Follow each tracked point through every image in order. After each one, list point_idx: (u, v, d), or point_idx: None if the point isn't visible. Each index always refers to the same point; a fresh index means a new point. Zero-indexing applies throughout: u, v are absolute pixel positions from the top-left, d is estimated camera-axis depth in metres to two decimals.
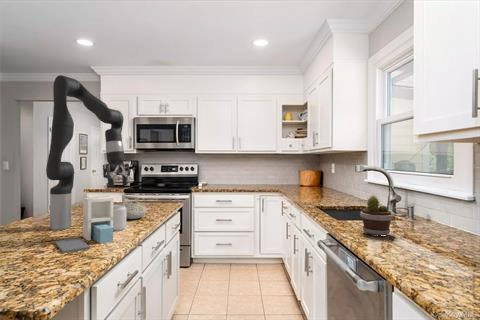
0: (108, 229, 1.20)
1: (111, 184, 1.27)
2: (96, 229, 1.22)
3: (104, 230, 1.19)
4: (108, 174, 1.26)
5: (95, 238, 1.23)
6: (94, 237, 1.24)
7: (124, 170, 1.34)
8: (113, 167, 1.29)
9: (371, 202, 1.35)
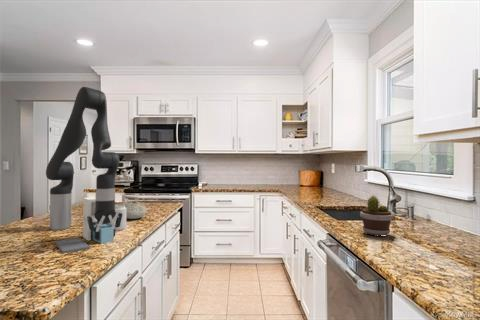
0: (109, 229, 1.20)
1: (96, 237, 1.19)
2: None
3: (105, 230, 1.19)
4: (92, 228, 1.17)
5: (94, 238, 1.22)
6: (93, 237, 1.24)
7: (112, 221, 1.22)
8: (98, 219, 1.19)
9: (371, 202, 1.35)
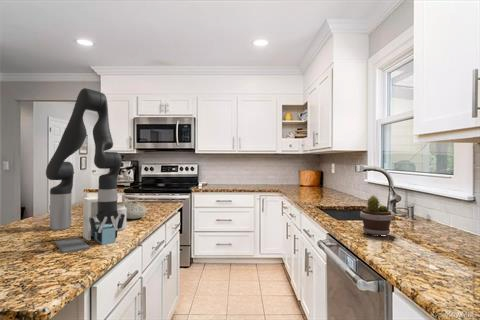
0: (110, 230, 1.18)
1: (98, 239, 1.17)
2: None
3: (106, 230, 1.17)
4: (94, 229, 1.15)
5: None
6: (96, 237, 1.23)
7: (114, 222, 1.20)
8: (100, 220, 1.17)
9: (371, 202, 1.35)
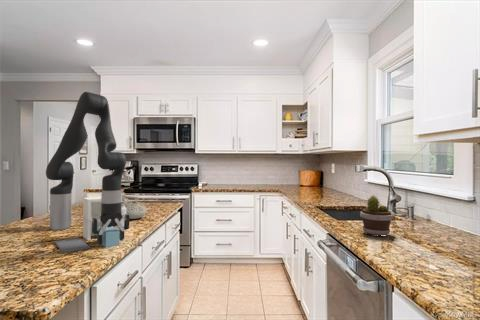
0: (114, 233, 1.15)
1: (99, 241, 1.12)
2: None
3: (110, 233, 1.14)
4: (95, 231, 1.10)
5: None
6: None
7: (119, 223, 1.16)
8: (104, 221, 1.13)
9: (371, 202, 1.35)
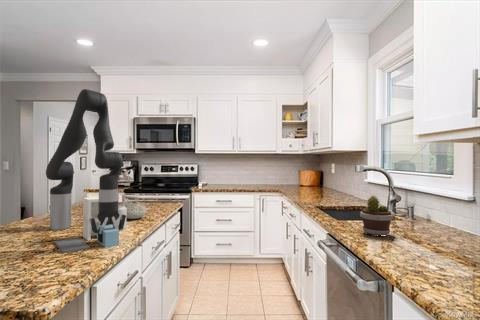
0: (114, 232, 1.15)
1: (99, 240, 1.15)
2: None
3: (109, 233, 1.14)
4: (95, 230, 1.14)
5: None
6: None
7: (115, 223, 1.18)
8: (101, 220, 1.15)
9: (371, 202, 1.35)
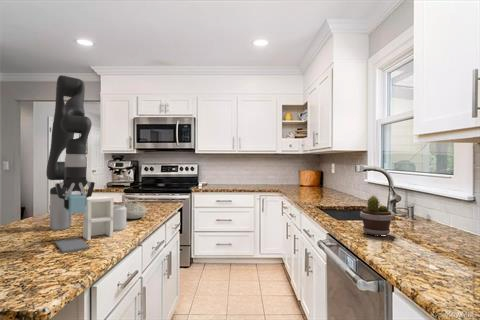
0: (80, 198, 1.10)
1: (65, 206, 1.11)
2: (68, 198, 1.12)
3: (75, 199, 1.09)
4: (60, 195, 1.10)
5: None
6: None
7: (83, 189, 1.14)
8: (67, 186, 1.11)
9: (371, 202, 1.35)
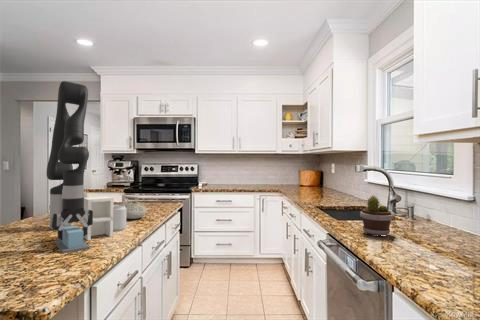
0: (78, 233, 1.10)
1: (59, 237, 1.10)
2: (65, 232, 1.12)
3: (73, 234, 1.09)
4: (54, 226, 1.08)
5: (64, 242, 1.13)
6: (63, 241, 1.14)
7: (82, 219, 1.14)
8: (64, 217, 1.11)
9: (371, 202, 1.35)
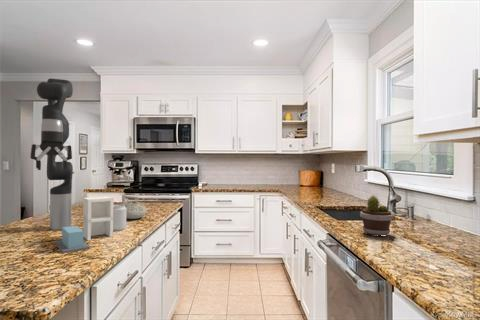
0: (78, 233, 1.10)
1: (37, 167, 1.15)
2: (65, 232, 1.12)
3: (73, 234, 1.09)
4: (32, 155, 1.14)
5: (64, 242, 1.13)
6: (63, 241, 1.14)
7: (60, 152, 1.20)
8: (43, 148, 1.16)
9: (371, 202, 1.35)
